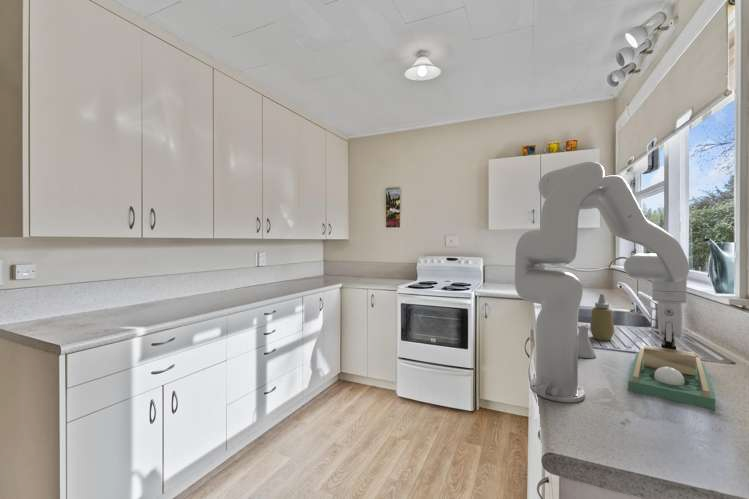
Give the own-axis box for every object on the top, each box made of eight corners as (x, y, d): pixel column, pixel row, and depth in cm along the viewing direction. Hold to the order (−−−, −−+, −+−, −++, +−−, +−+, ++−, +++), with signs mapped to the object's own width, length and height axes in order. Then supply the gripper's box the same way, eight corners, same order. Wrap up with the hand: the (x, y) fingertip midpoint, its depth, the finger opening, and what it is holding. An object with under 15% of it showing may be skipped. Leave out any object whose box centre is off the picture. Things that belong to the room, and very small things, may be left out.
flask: (601, 359, 111) (601, 329, 111) (579, 359, 111) (579, 329, 111) (587, 352, 118) (587, 323, 118) (566, 352, 118) (566, 324, 118)
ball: (685, 384, 82) (684, 364, 86) (653, 378, 86) (654, 359, 90) (684, 398, 85) (683, 378, 88) (653, 392, 89) (654, 373, 92)
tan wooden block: (644, 362, 99) (644, 345, 99) (694, 371, 92) (694, 352, 92) (643, 366, 96) (643, 348, 96) (695, 375, 89) (695, 356, 89)
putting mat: (636, 359, 110) (636, 347, 110) (704, 371, 99) (704, 358, 99) (628, 390, 87) (628, 375, 87) (715, 409, 77) (715, 392, 77)
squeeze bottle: (591, 335, 139) (591, 292, 139) (615, 338, 134) (615, 293, 134) (588, 339, 133) (588, 294, 133) (613, 343, 128) (613, 296, 128)
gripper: (687, 301, 89) (687, 369, 90) (685, 294, 101) (685, 354, 101) (651, 298, 94) (651, 362, 95) (652, 292, 105) (652, 349, 106)
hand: (668, 358), depth 98 cm, fingers closed
